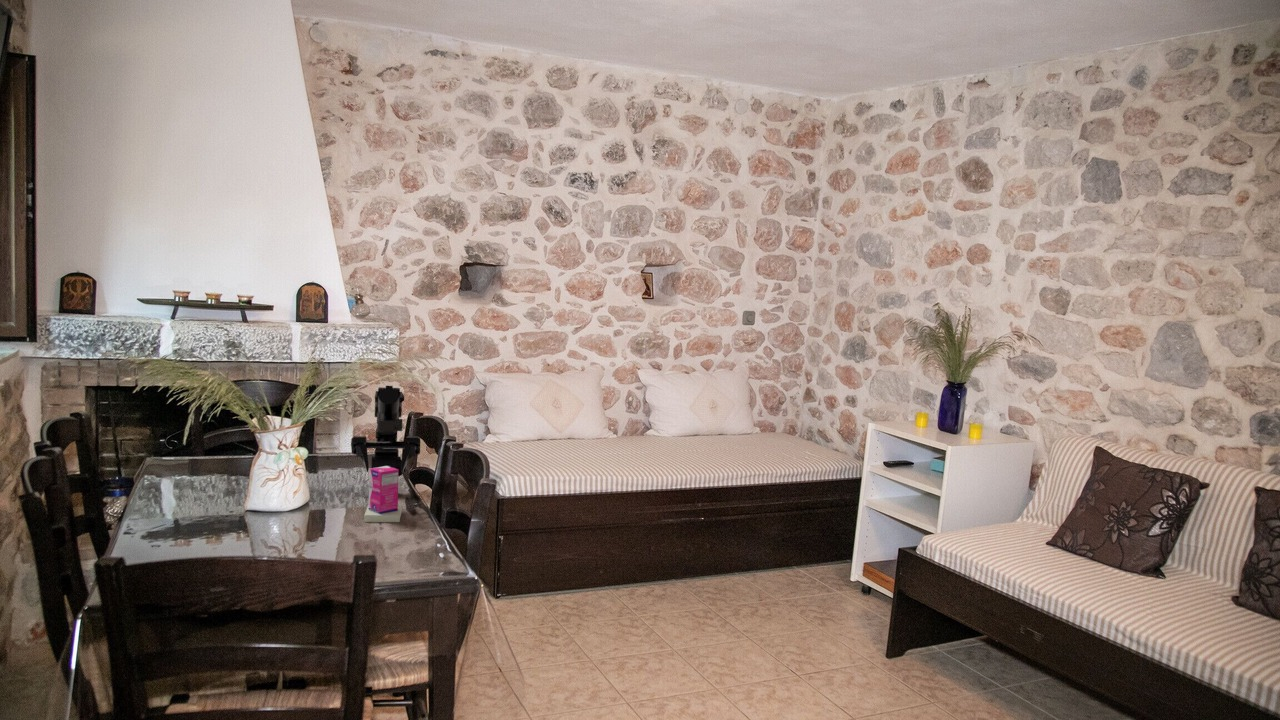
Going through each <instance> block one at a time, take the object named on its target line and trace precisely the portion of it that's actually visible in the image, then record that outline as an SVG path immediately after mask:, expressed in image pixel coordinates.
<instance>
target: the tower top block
mask: <svg viewBox="0 0 1280 720" xmlns="http://www.w3.org/2000/svg"><path fill="white" fill-rule="evenodd" d="M368 507H369V505H367V507H366V510H365V513H364V516H363V522H364V523H400V522H401V516H402V510H403V506H402V505H398V511H392V512H387V513H381V514H380V513H378V512H375V511H372V510H369V509H368Z"/></svg>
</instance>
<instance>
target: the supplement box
mask: <svg viewBox="0 0 1280 720" xmlns="http://www.w3.org/2000/svg"><path fill="white" fill-rule="evenodd" d="M368 473H369V474H368V475H369V476H368V506H369V507H368V506H367V507H368V509H369V510H372V511H375V512H378V513H380V514H381V513H387V512H392V511H398V506H399V477H400V476H399V470H398V469H395V468H392V467H389V466H383V467H377V468H370V467H369V470H368Z"/></svg>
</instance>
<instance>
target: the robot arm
mask: <svg viewBox="0 0 1280 720" xmlns="http://www.w3.org/2000/svg"><path fill="white" fill-rule="evenodd" d="M403 402H405V394H404V393H403V391H401V388H400V387H394V385H385V387H384V386H383V387H378V388H377V390H375V396H374V418H376V424H377V425H376V429H375V440H367V435H366V436H361V435H359V436H357V435H355V436H352V437H351V440H350V441H351V443H350V448H351V454H352V455H356V457H358V458H360V460H361V461H362V462H363V465H364V467H365V471H366V472H367V473H369V469H370V467H369V460H368V459H369V458H368V457H369V456H368V455H369V454H368V449H374V454H373V455H374V456H373V455H372V456H371V468H377V467H383V466H389V467H392V468H395V469H398V470H399V476H398V477H401V476H403V473H404V470H405V468H406V466H407V464H408V463H409V461H410V460H411V459H412V457H413V458H414V457H416V455H420V454H421V437H420V436H406V438H405V439H406V440H405V441H404V440H402V441H398V432H402V431H403V418H402V413H403V412H402V410H403V409H402V408H403ZM399 449H403V450H404V451H403V456H401V455H400V456H399V453H400V452H399Z"/></svg>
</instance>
